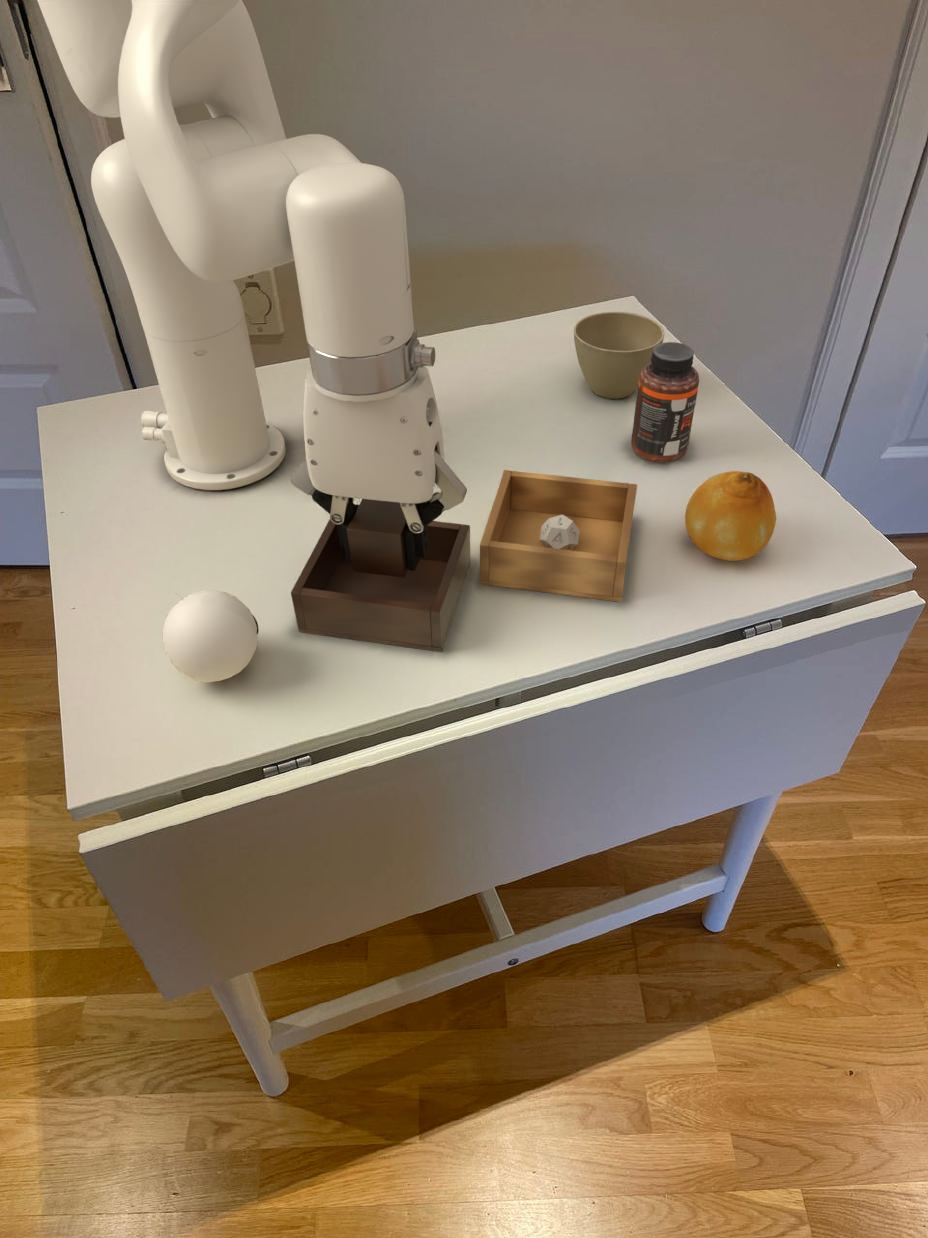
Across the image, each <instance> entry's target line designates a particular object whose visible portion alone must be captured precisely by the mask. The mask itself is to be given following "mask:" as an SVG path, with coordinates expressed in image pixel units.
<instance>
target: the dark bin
mask: <svg viewBox="0 0 928 1238" xmlns="http://www.w3.org/2000/svg"><path fill="white" fill-rule="evenodd" d="M427 530H428V552H427V555H426V557H425V558H424V557H420V560H419V562H418V565H417V567H416V570H415V571H410V570H407V573H406V575H405V577H404V578H402V577H394V576H385V575H377V574H369V573H361V572H353V567H352V564H351V563H347V560H346V553H345V548H341V546H340V540H339V533H338V527H337V524H334V523H333V522H332V521H331V520H330V519H328V522H327V523H326V525H325V527H324V529H323V531H322V533H321V535H320V537H319V538H318V541H317V542H316V544H315V546H314V548H313V550H312V552H311V553H310V555H309V558H308V560H307V561H306V563H305V565H304V567H303V569H302V570H301V573H300V575H299V576H298V578H297V580H296V581H295V584H294V586H293V588H292V590H290V591H291V592H290V594H291V595H290V597H291V600H292V604H293V605H292V606H293V610H294V615H295V619H296V620H295V621H296V626H297V630H298V631H297V632H299V633H307V634H312V635H321V636H328V637H335V638H340V639H341V638H343V639H349V640H355V641H363V642H369V643H376V644H381V645H383V644H384V645H390V646H398V647H403V648H410V649H419V650H425V651H431V652H439V653H442V652H443V649H444V646H445V643H446V640H447V637H448V635H449V631H450V628H451V625H452V622H453V619H454V616H455V612H456V610H457V607H458V604H459V602H460V601H459V600H460V597H461V594H462V591H463V589H464V585H465V583H466V579H467V576H468V574H469V570H470V567H471V564H472V559H471V525H470V524H464V523H462V524H461V523H455V522H445V521H437V520H433V521H432V522H431V523H429V524H428V525H427Z"/></svg>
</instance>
